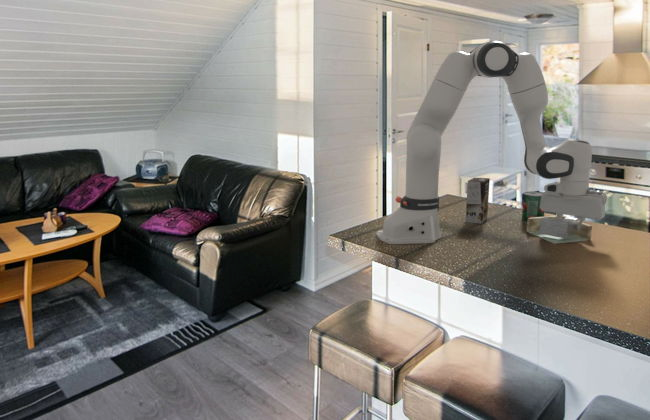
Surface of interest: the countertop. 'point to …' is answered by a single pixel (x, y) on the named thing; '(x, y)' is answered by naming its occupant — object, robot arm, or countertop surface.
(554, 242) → the mat
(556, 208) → the robot arm
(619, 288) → the countertop surface
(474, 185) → the coffee box
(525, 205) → the canned tomato
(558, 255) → the countertop surface
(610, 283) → the countertop surface
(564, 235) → the bracket
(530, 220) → the walls
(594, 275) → the countertop surface
